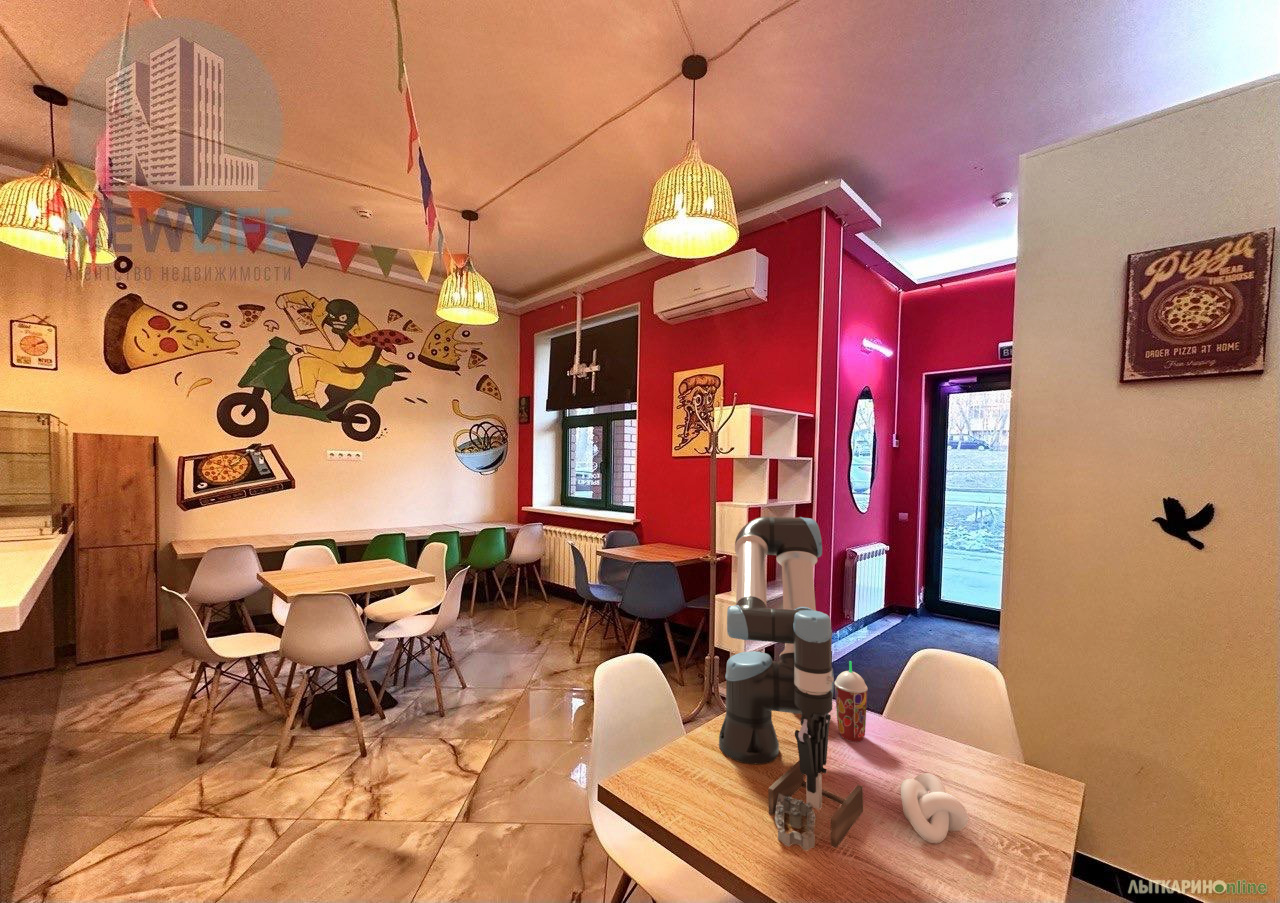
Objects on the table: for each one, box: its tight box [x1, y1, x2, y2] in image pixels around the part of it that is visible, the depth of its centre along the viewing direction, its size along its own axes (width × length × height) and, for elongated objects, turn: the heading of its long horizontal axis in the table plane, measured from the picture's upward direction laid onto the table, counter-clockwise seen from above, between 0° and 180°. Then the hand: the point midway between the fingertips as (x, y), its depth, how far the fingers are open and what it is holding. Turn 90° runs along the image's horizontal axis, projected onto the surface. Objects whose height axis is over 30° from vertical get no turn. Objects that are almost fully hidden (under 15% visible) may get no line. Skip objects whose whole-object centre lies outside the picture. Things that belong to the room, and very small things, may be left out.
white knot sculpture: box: [900, 772, 969, 844], centre depth 98 cm, size 11×12×9 cm
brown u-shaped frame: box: [768, 760, 864, 849], centre depth 102 cm, size 14×14×5 cm
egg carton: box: [774, 793, 816, 852], centre depth 96 cm, size 11×8×4 cm
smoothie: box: [834, 660, 868, 743], centre depth 133 cm, size 8×8×20 cm
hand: (814, 805), depth 101 cm, fingers closed
